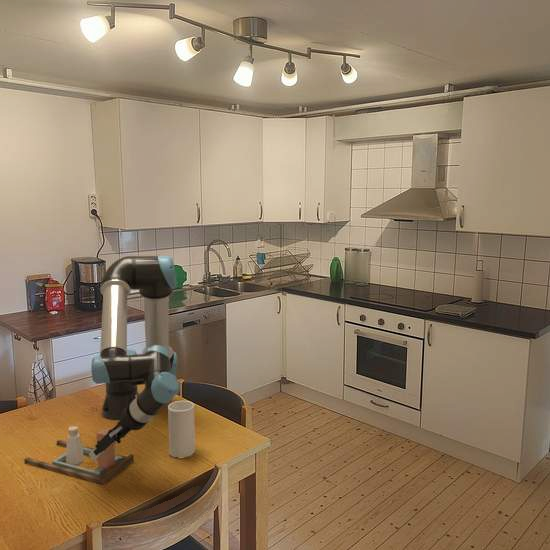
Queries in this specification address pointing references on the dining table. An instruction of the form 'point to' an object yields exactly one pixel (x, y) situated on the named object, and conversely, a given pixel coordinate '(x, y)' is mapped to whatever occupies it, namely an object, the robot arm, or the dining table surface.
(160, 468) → the dining table surface
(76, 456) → the salt shaker
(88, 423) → the dining table surface
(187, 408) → the cup
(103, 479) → the track
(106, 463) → the frame
